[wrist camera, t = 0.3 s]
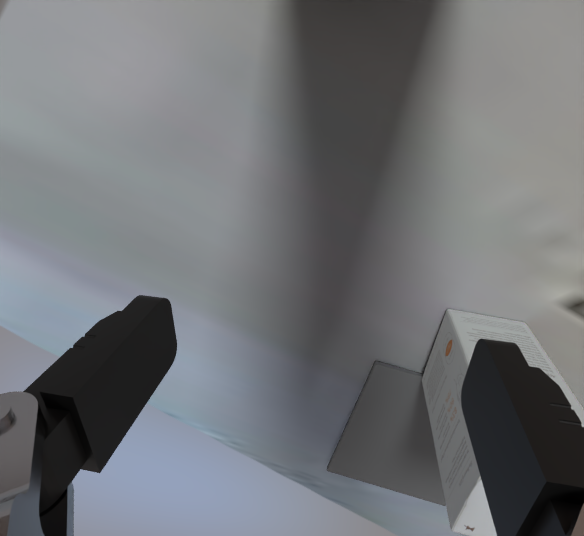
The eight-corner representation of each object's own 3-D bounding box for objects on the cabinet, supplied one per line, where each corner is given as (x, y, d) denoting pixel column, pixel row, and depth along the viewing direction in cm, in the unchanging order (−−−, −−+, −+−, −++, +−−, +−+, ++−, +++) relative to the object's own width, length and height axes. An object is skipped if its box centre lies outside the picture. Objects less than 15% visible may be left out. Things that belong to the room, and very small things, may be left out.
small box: (491, 393, 33) (558, 560, 22) (419, 379, 34) (447, 533, 22) (528, 320, 29) (633, 476, 18) (446, 305, 30) (496, 446, 18)
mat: (375, 360, 34) (375, 363, 34) (526, 403, 33) (528, 406, 33) (327, 467, 44) (326, 470, 43) (444, 502, 43) (445, 505, 43)
